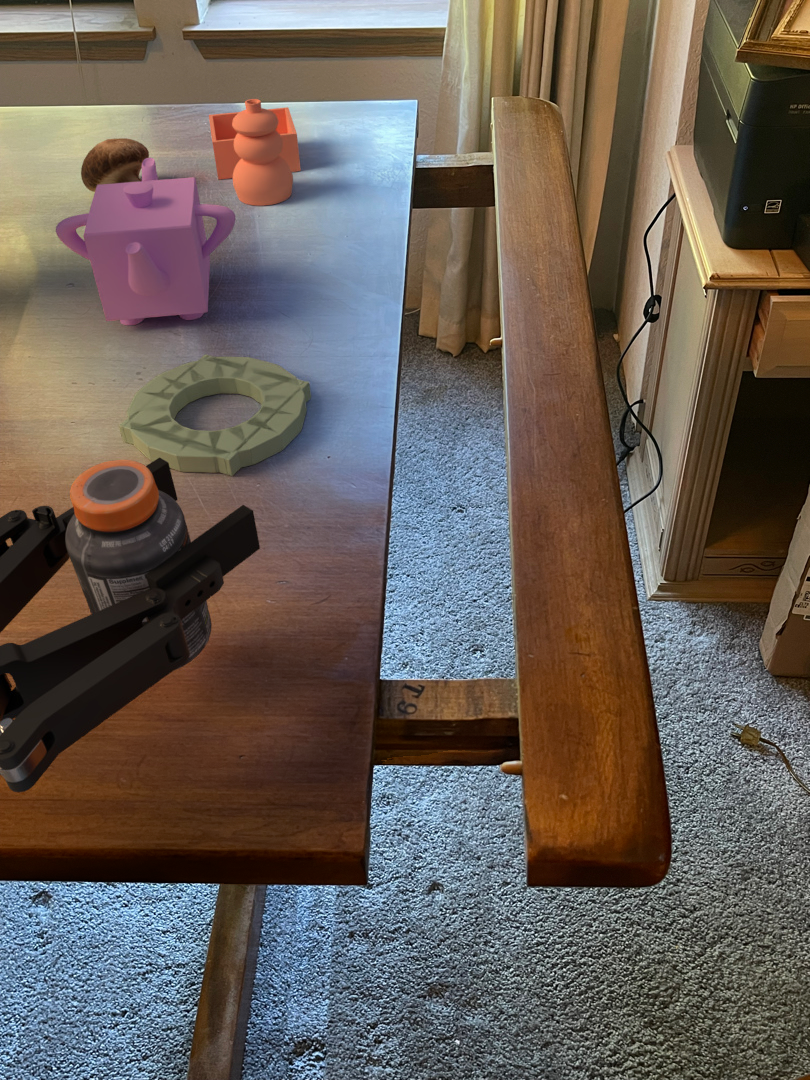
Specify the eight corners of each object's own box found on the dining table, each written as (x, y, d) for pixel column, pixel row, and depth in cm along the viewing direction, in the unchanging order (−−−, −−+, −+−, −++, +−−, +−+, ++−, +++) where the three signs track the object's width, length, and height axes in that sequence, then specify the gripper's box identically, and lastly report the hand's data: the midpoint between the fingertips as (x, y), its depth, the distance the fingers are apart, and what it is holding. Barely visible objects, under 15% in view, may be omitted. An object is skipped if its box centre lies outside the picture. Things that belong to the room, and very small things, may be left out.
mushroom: (163, 170, 102) (127, 117, 100) (102, 212, 102) (65, 159, 100) (167, 180, 110) (133, 131, 108) (110, 219, 110) (75, 170, 108)
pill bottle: (125, 597, 56) (73, 442, 48) (223, 601, 55) (187, 445, 47) (91, 676, 51) (28, 520, 44) (198, 682, 51) (153, 525, 43)
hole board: (95, 444, 72) (90, 428, 70) (200, 358, 80) (197, 342, 79) (242, 492, 67) (239, 475, 66) (336, 395, 75) (335, 379, 74)
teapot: (54, 304, 88) (18, 188, 80) (169, 253, 95) (146, 142, 88) (156, 360, 80) (127, 238, 73) (272, 300, 87) (257, 183, 80)
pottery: (214, 150, 115) (200, 63, 108) (292, 143, 116) (282, 56, 110) (222, 211, 102) (207, 116, 95) (310, 202, 103) (300, 107, 97)
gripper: (-268, 732, 46) (115, 488, 59) (-53, 980, 37) (343, 627, 50) (-357, 628, 41) (84, 385, 54) (-133, 887, 32) (332, 520, 45)
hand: (208, 502), depth 52 cm, fingers closed on pill bottle, 6 cm apart
